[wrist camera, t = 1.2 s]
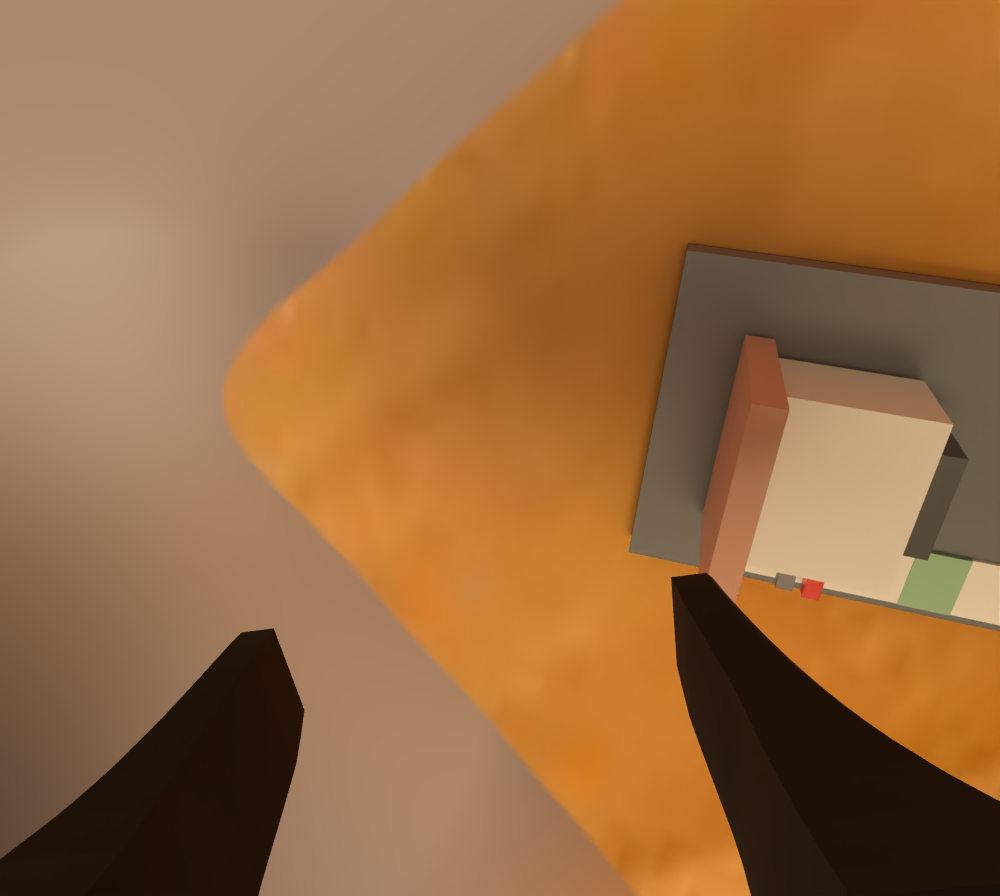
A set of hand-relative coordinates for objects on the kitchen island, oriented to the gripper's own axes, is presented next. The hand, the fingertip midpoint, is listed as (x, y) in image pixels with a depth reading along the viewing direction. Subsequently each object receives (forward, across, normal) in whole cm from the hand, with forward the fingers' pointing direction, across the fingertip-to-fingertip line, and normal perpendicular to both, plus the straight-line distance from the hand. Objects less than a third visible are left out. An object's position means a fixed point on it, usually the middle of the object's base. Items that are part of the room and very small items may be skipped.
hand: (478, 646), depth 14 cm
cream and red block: (+9, -9, +3) cm, 13 cm away
